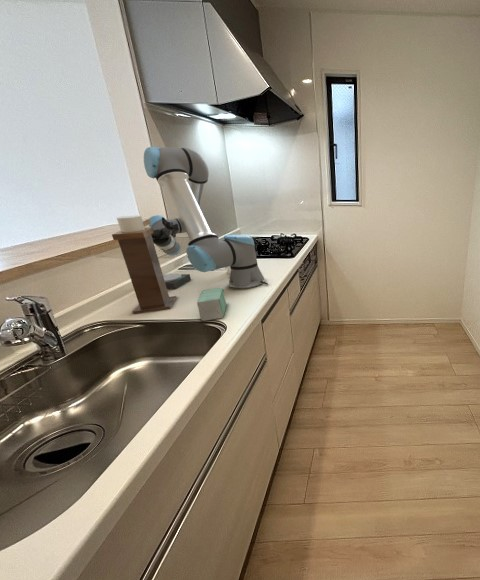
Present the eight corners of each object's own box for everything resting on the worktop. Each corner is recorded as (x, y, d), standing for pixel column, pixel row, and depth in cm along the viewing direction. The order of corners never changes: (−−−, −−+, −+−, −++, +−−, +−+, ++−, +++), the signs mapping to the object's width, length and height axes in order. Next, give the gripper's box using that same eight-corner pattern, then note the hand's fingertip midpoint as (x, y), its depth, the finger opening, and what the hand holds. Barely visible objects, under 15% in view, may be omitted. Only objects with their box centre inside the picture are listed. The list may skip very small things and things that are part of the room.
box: (226, 304, 125) (222, 286, 122) (224, 317, 113) (219, 299, 111) (206, 307, 123) (201, 289, 120) (201, 321, 111) (196, 302, 108)
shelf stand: (143, 302, 128) (119, 229, 117) (176, 297, 132) (157, 226, 121) (133, 314, 117) (106, 234, 107) (170, 308, 122) (147, 232, 111)
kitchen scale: (191, 279, 154) (189, 272, 153) (175, 289, 142) (173, 281, 141) (164, 280, 154) (162, 273, 152) (146, 289, 142) (143, 282, 140)
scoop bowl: (141, 231, 112) (137, 217, 110) (117, 233, 110) (113, 218, 108) (157, 223, 130) (154, 210, 128) (137, 224, 128) (133, 211, 126)
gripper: (193, 244, 149) (180, 228, 129) (130, 249, 140) (105, 233, 120) (192, 229, 149) (178, 211, 130) (129, 234, 141) (104, 214, 121)
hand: (143, 221), depth 125 cm, fingers open, 13 cm apart
